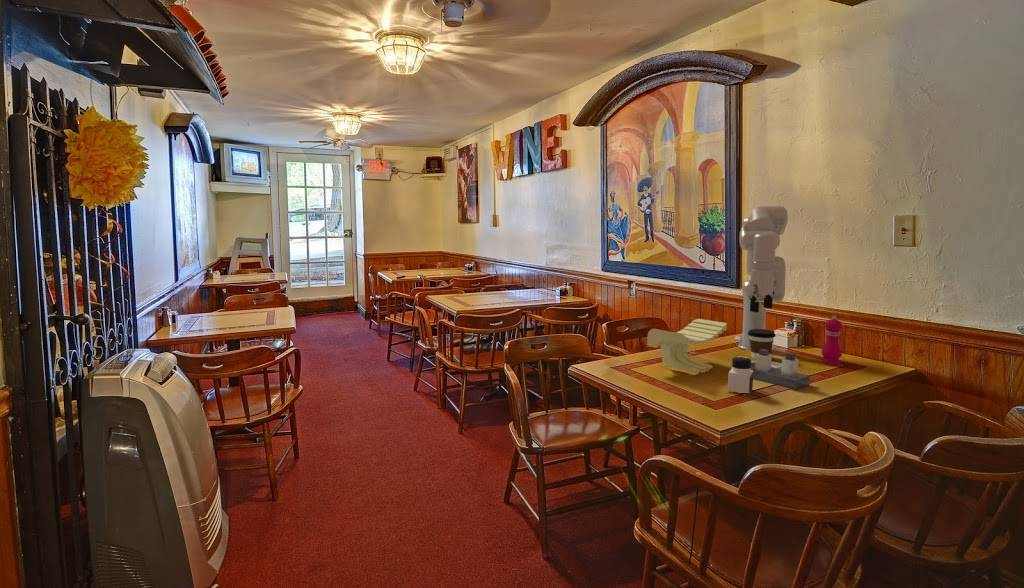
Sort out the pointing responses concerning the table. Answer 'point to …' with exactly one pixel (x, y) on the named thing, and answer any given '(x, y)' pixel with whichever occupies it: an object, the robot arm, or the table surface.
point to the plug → (763, 360)
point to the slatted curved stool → (685, 343)
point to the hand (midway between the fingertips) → (761, 309)
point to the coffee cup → (760, 340)
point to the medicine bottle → (740, 375)
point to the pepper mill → (832, 342)
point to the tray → (773, 364)
